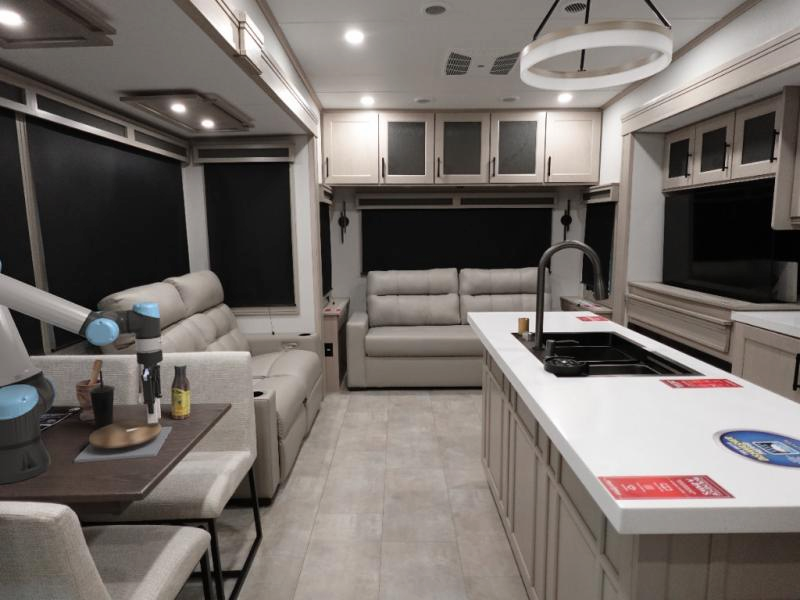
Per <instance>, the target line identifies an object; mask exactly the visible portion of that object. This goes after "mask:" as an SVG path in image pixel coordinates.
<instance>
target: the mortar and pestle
mask: <svg viewBox="0 0 800 600" xmlns="http://www.w3.org/2000/svg"><path fill="white" fill-rule="evenodd" d="M103 365H104V361H103V359H95V360H94V362H93V366H92V373H91V378H90V379H85V380H81V381H78V382H76V383H75V390H76V391H75V392H76V399H77V401H78V404H79V405H80V406H81V407H82V408H83V410H82V412H81V413H80V414H79V419H80V420H81V421H83V422H84V421H91V420H95V418H94V413H93V407H92V401H91V396H90V393H89V390H90V389H92V388H94V387H96V386H99V385H100V378H99V377H100V371H102V368H103ZM103 385H105V382H104V380H103Z"/></svg>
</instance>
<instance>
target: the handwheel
mask: <svg viewBox="0 0 800 600" xmlns="http://www.w3.org/2000/svg"><path fill="white" fill-rule="evenodd" d="M155 403H156V407H157V420H158V422H157V423H148V419H133V420H132V419H131V420H126V421H125V420H124V421H119V422H115V423H114V422H113V424H110V425H107V426H104V427H102V428H99V429H95V430H94V431H93V432H92V433H91V434H89V444H91V445H93V446H95V447H100V448H121V447H128V446H133V445H137V444H140V443H144V442H146V441H149V440H151V439H153V438H155V437H156V436H158V435H159V434H160V433H161V427H162V424H160V422H159V418H158V404H157V398H156V397H155Z"/></svg>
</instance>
